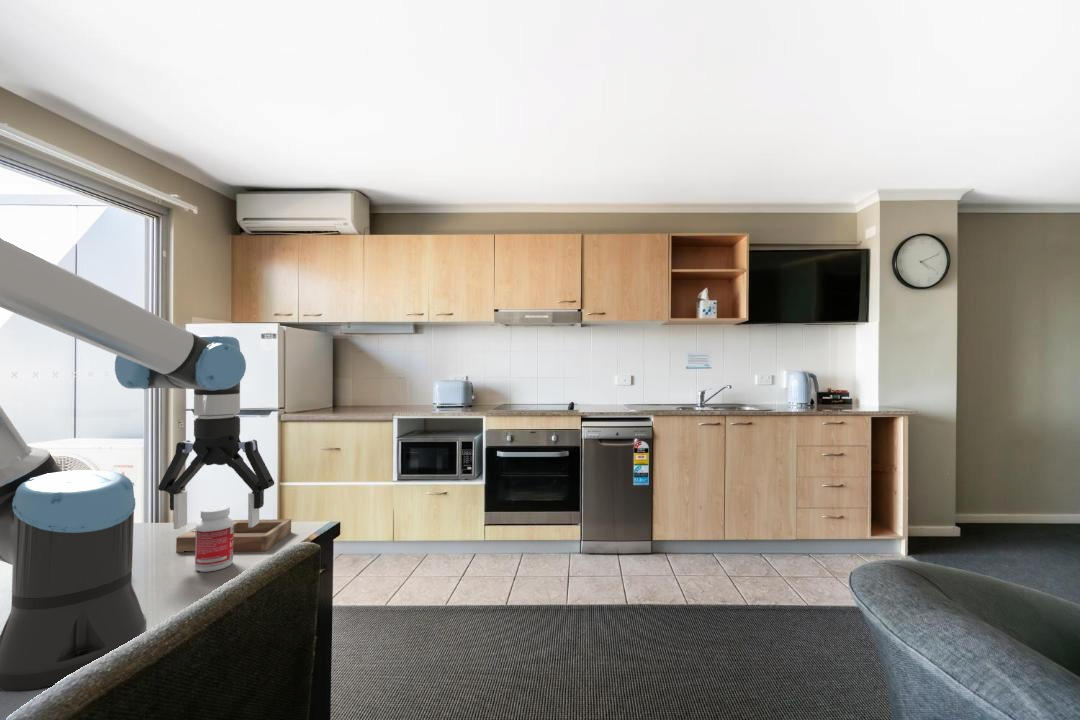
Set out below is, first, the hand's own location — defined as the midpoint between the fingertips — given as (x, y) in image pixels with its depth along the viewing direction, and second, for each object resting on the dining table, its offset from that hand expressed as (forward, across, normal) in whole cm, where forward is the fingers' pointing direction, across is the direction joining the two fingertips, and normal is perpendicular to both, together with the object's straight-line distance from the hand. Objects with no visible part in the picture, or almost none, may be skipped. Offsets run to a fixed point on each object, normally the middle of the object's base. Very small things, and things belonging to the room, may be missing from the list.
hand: (217, 526), depth 96 cm
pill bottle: (+8, 0, 0) cm, 8 cm away
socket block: (+8, +3, -14) cm, 16 cm away
